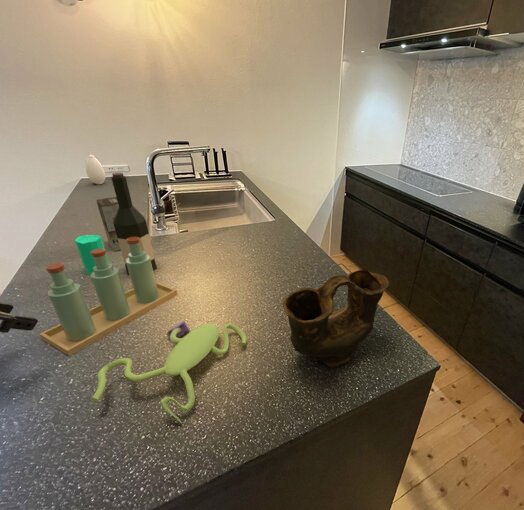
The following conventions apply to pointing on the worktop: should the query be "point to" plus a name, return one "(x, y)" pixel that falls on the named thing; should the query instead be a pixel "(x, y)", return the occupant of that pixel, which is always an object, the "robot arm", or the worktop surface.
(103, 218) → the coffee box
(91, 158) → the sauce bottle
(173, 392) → the worktop surface
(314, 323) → the pottery vessel
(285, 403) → the worktop surface
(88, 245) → the green polygonal prism
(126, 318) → the tray
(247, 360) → the worktop surface
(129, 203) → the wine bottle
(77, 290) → the loose bottle
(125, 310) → the tray bottles
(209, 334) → the figurine
